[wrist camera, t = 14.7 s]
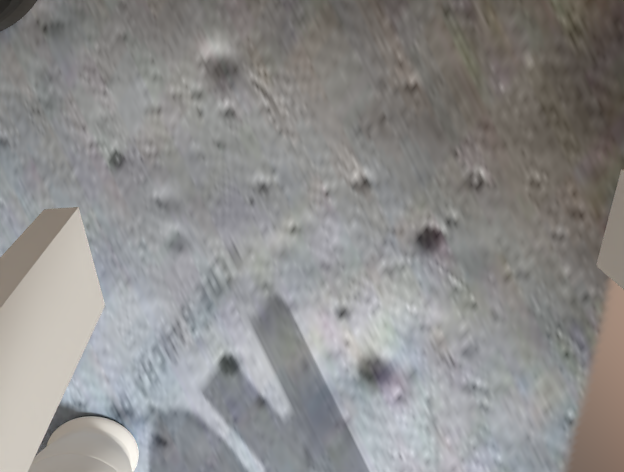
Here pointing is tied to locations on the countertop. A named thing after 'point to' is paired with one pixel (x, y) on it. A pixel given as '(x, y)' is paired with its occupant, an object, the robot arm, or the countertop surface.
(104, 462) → the jar
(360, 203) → the countertop surface
